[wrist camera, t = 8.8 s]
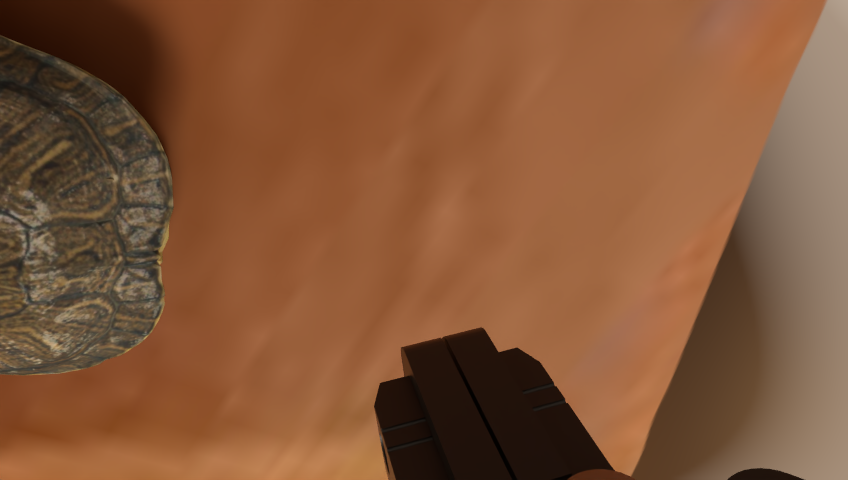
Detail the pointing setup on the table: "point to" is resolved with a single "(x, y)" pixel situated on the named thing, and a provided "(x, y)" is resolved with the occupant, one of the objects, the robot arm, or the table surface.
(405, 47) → the table surface
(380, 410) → the robot arm
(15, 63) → the turtle shell
